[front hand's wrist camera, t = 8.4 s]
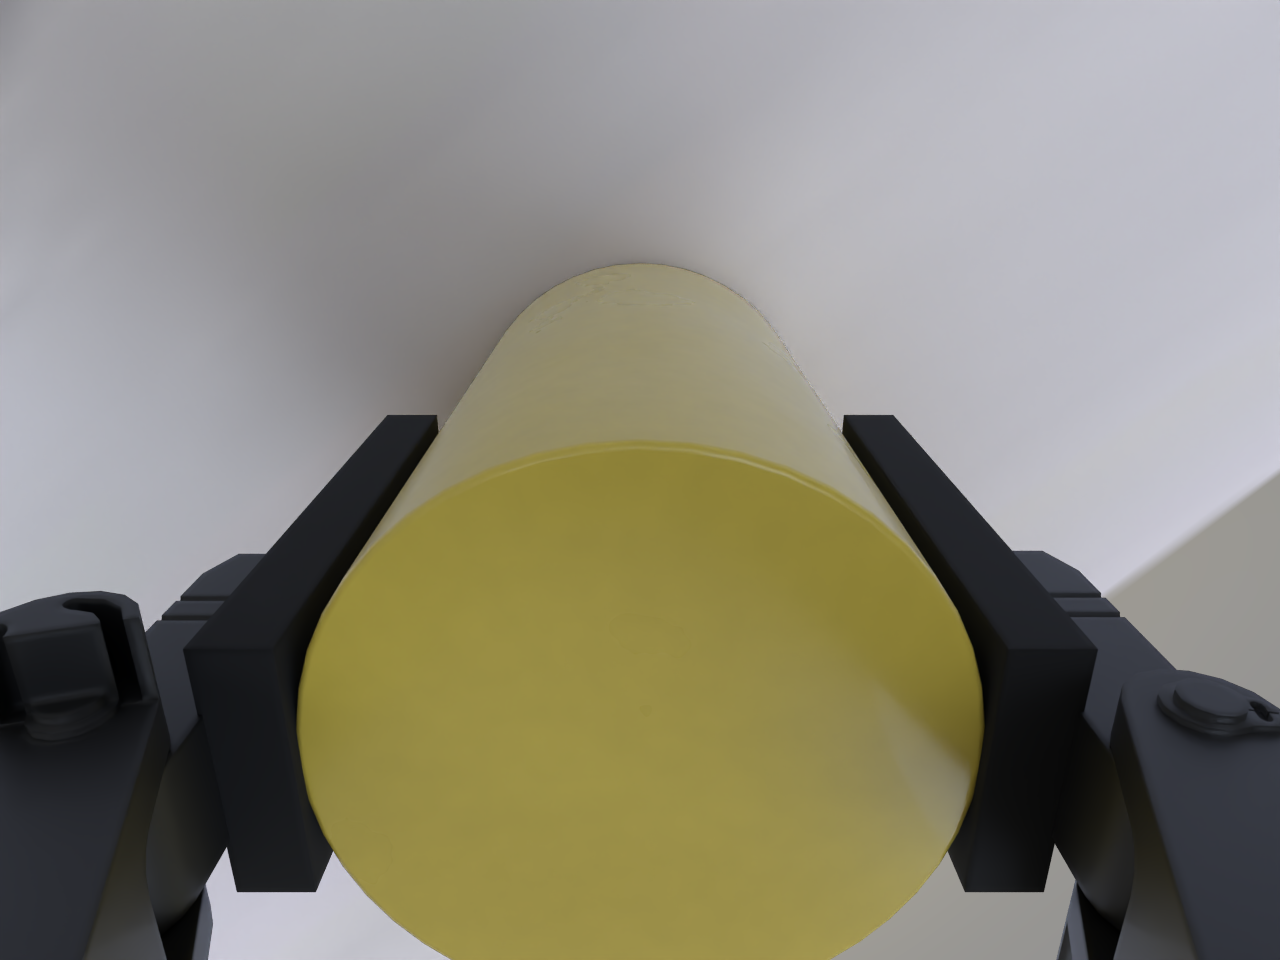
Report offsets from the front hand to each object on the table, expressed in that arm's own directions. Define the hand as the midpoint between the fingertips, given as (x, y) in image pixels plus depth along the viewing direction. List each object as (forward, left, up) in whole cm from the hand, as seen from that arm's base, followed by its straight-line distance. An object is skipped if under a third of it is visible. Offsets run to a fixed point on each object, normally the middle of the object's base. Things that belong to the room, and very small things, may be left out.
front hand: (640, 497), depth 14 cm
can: (0, 0, -4) cm, 4 cm away
